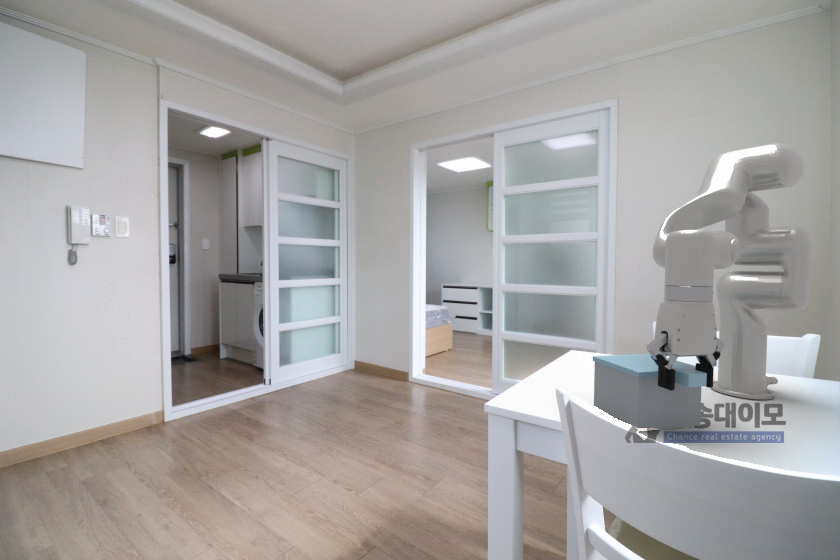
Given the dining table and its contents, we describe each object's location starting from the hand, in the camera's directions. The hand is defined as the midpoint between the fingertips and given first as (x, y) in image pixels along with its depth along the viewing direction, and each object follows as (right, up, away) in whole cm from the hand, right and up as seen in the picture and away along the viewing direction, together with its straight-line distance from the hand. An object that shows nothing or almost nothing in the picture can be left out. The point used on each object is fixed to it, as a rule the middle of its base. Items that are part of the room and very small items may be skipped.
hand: (685, 386), depth 72 cm
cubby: (-2, -9, +10) cm, 14 cm away
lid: (-1, +1, +7) cm, 7 cm away
